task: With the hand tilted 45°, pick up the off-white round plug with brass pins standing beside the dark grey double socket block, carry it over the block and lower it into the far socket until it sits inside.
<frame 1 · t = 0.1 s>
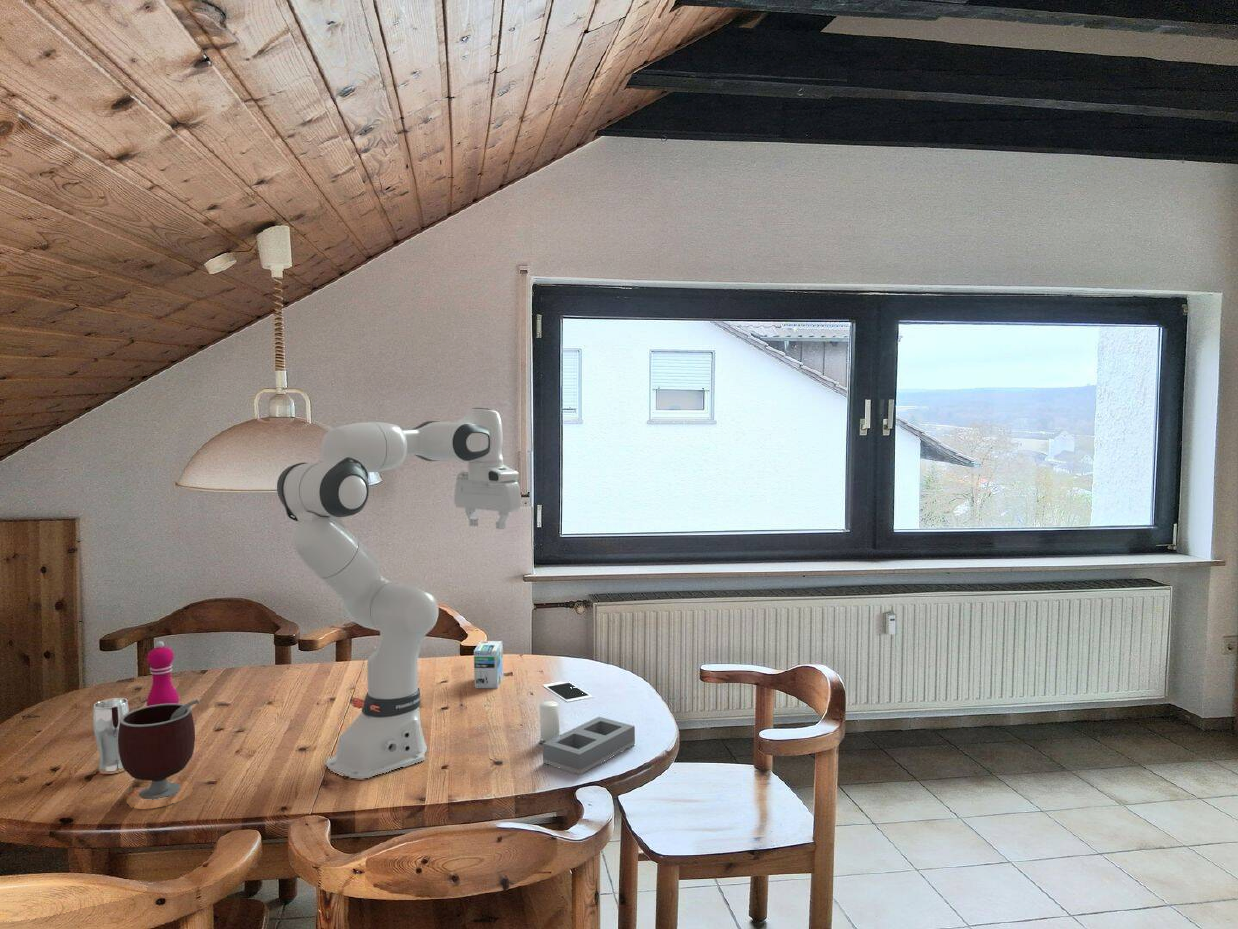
hand: (487, 527, 224), 48 cm above the table, tool pointing down, fingers open, 8 cm apart
beer glass: (114, 770, 195), on the table
mate gourd: (164, 796, 182), on the table
pepper mill: (163, 719, 226), on the table
light bulb box: (489, 683, 252), on the table
cell phone: (567, 693, 244), on the table
plug: (550, 742, 208), on the table
socket block: (590, 754, 201), on the table
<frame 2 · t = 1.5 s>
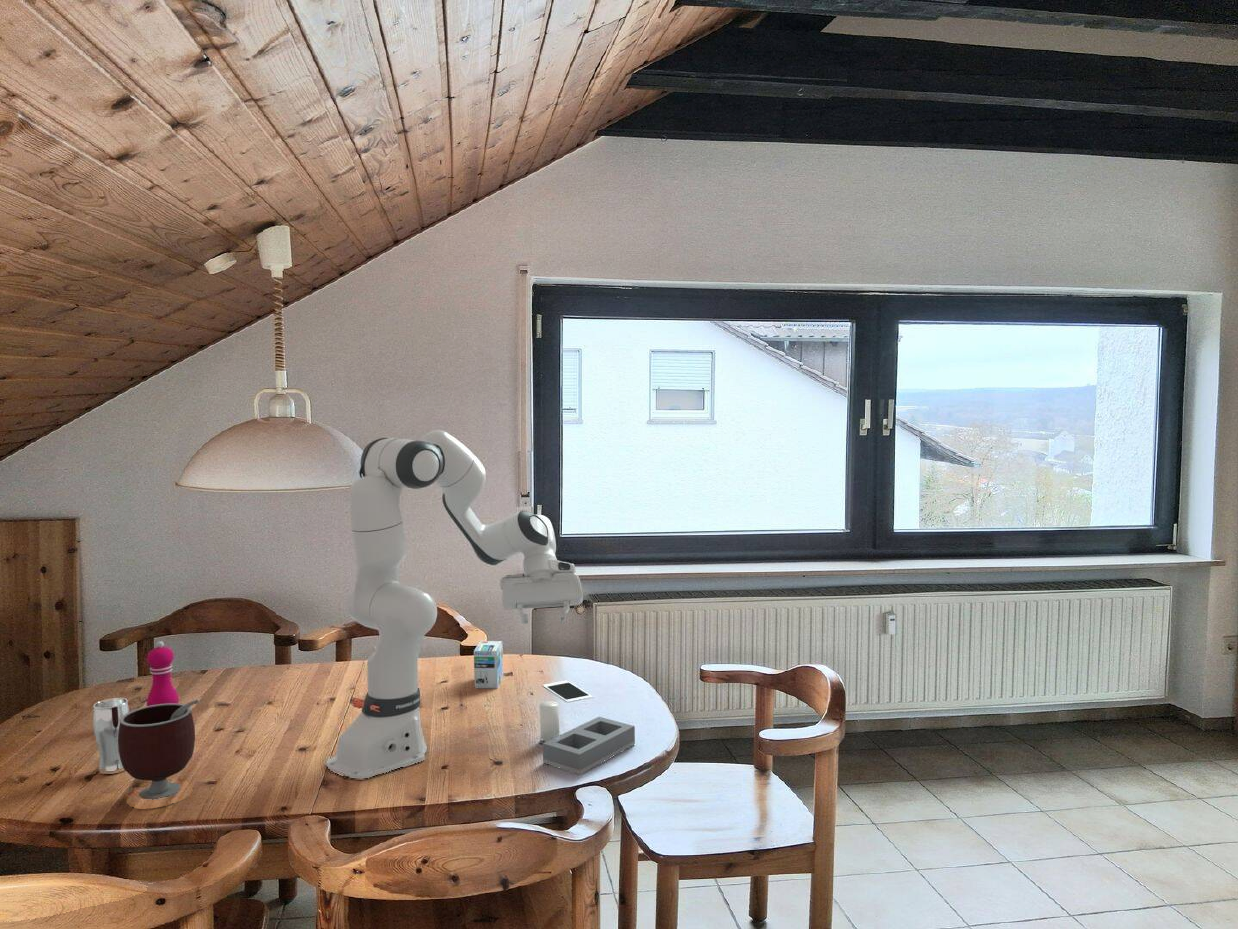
hand: (544, 621, 219), 26 cm above the table, tool tilted 45°, fingers open, 8 cm apart
nothing on the table moved.
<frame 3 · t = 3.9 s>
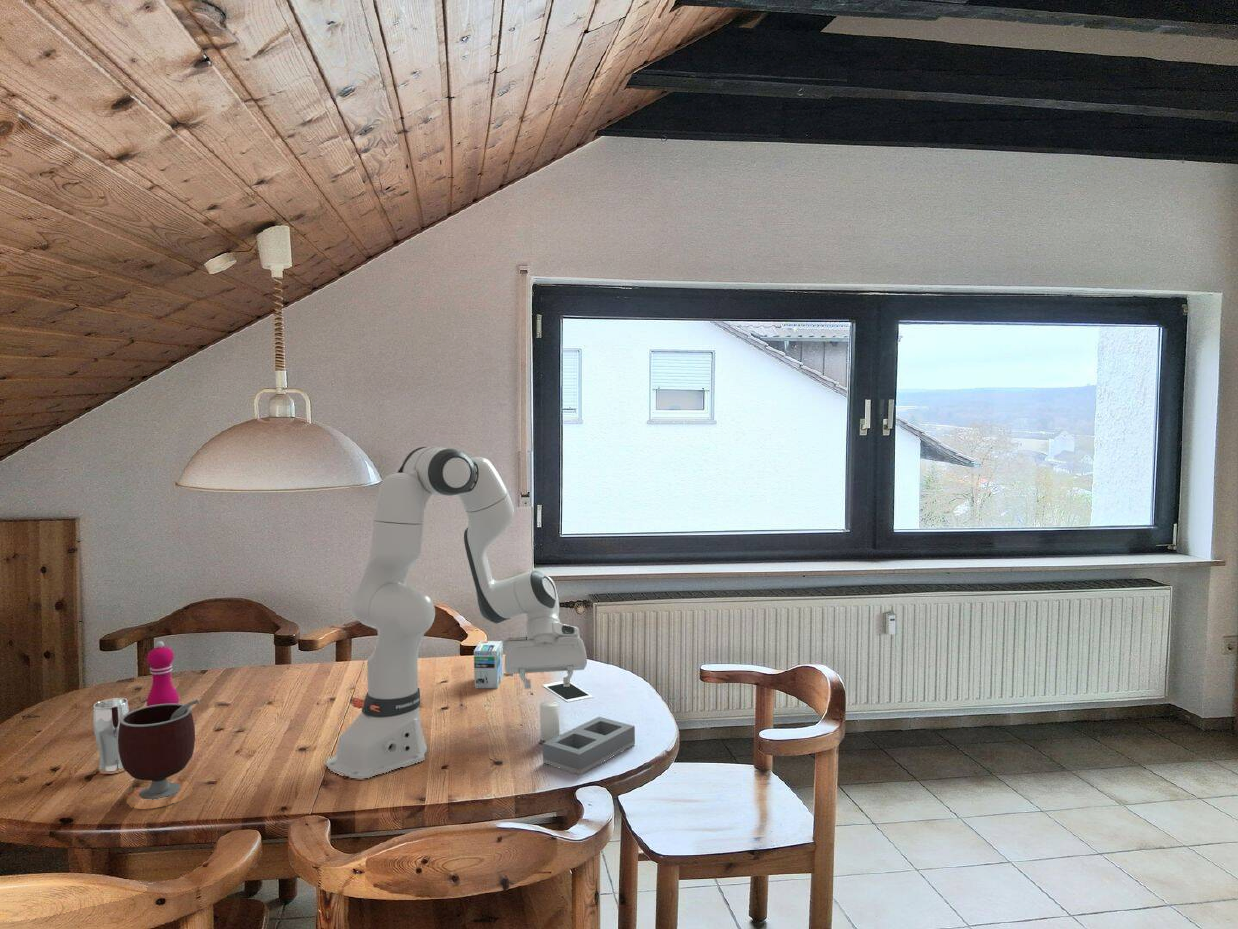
hand: (547, 686, 214), 11 cm above the table, tool tilted 45°, fingers open, 8 cm apart
nothing on the table moved.
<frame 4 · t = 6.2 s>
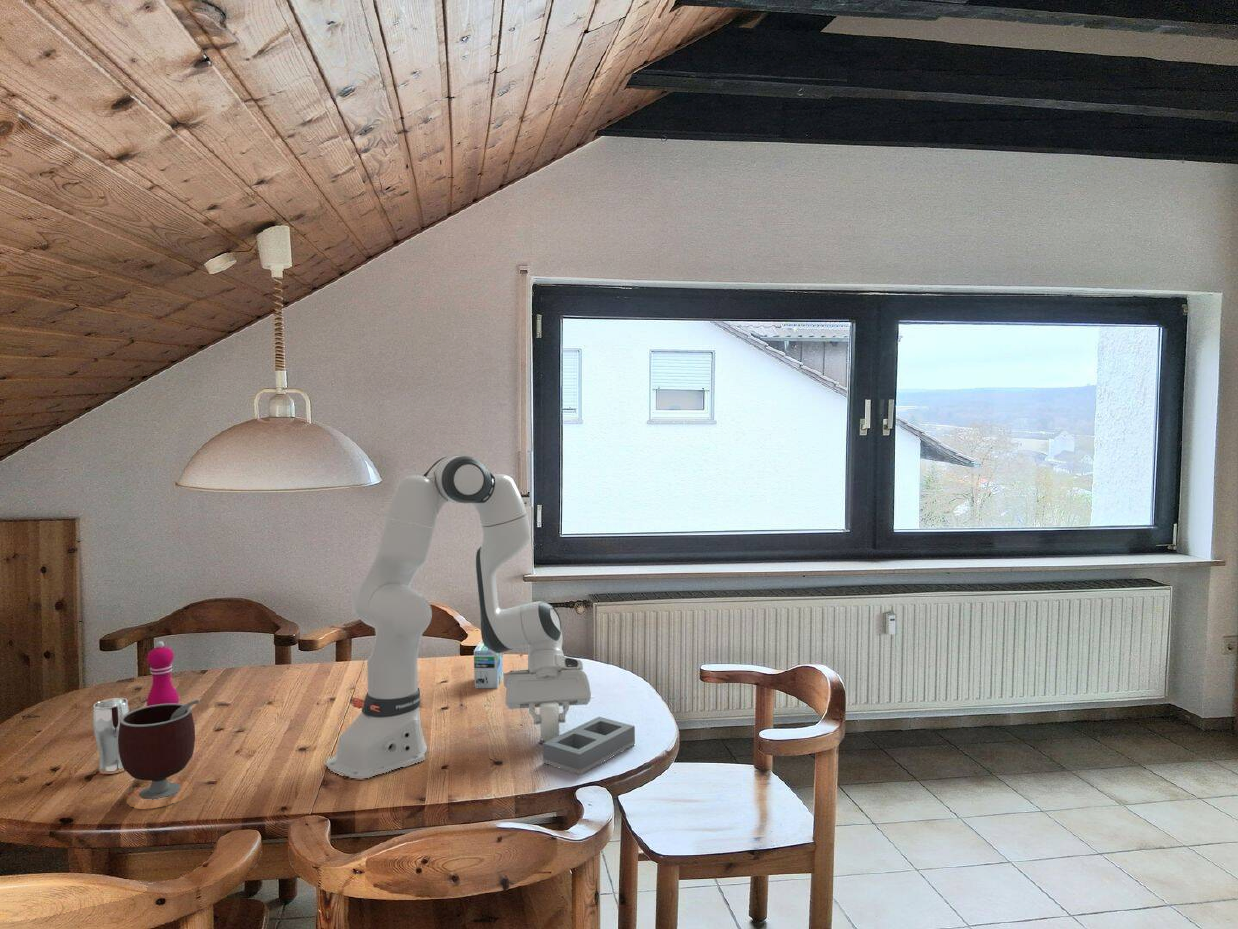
hand: (549, 722, 207), 5 cm above the table, tool tilted 45°, fingers closed on plug, 4 cm apart
plug: (550, 742, 208), on the table, touching gripper
everything else where it was.
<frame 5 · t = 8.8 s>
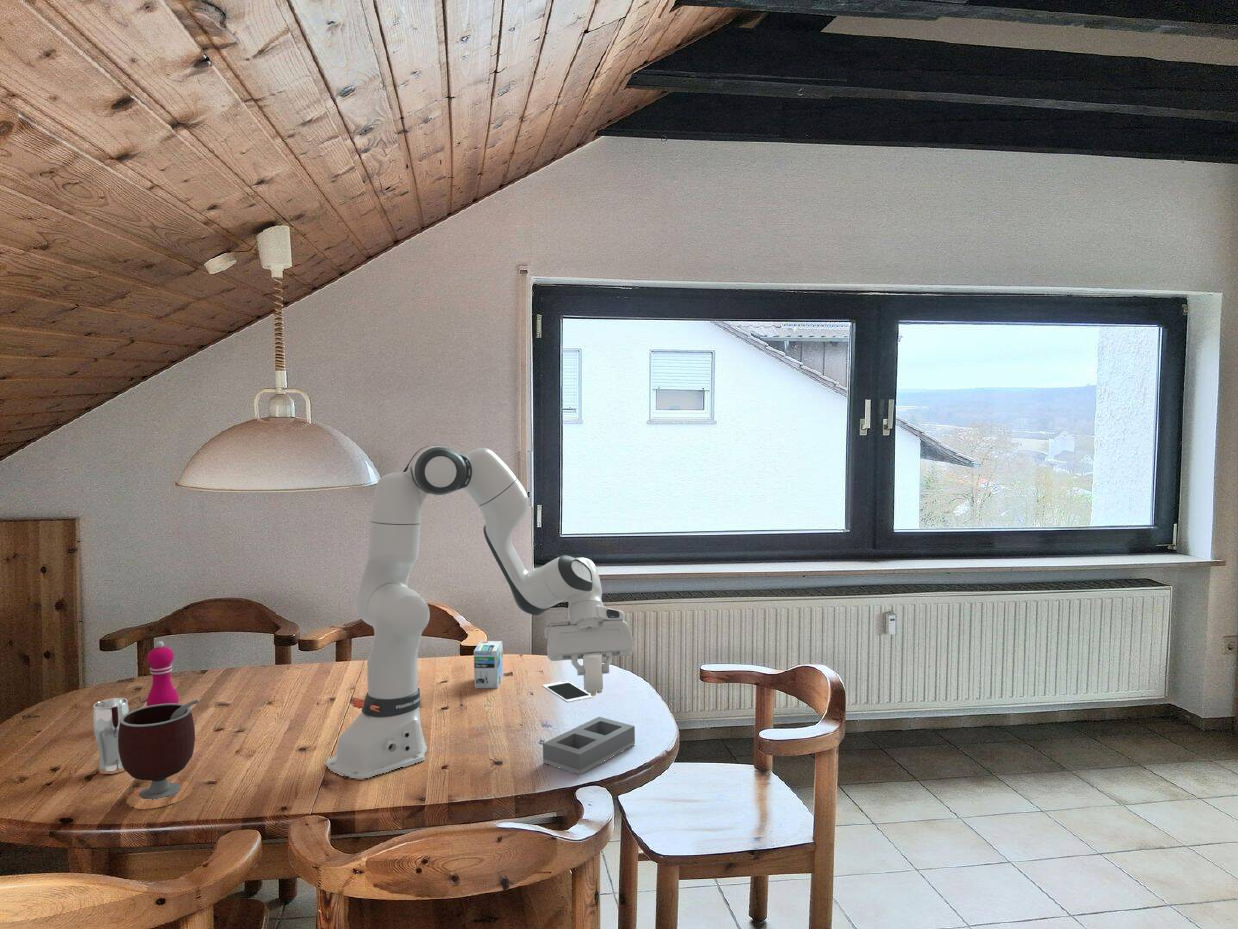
hand: (593, 673, 204), 17 cm above the table, tool tilted 45°, fingers closed on plug, 4 cm apart
plug: (593, 693, 205), point 12 cm above the table, touching gripper
everything else where it was.
when the fingers open (7 cm above the table, at t = 11.7 s): plug stays where it is, resting on socket block.
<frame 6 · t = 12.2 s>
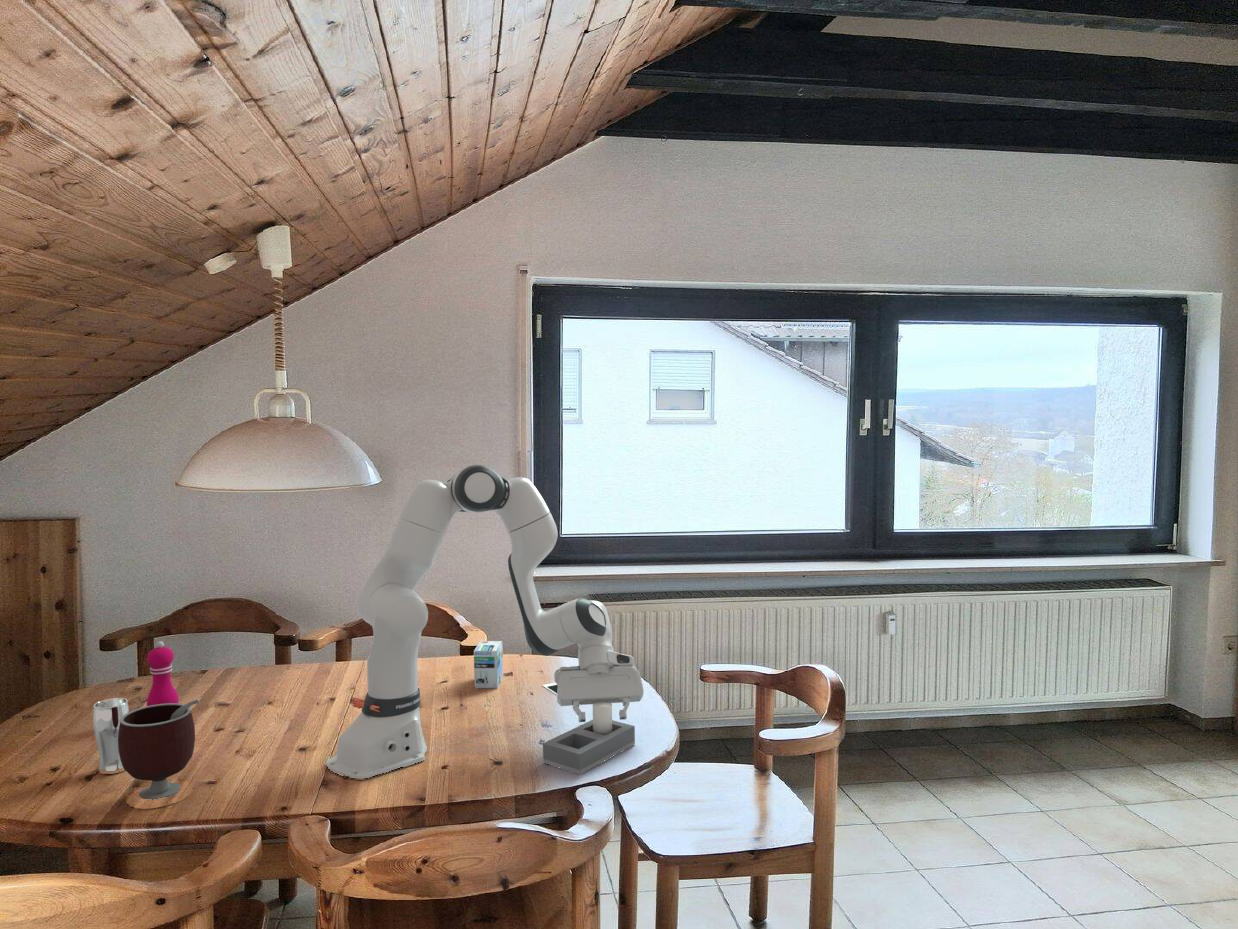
hand: (602, 720, 203), 7 cm above the table, tool tilted 45°, fingers open, 8 cm apart
plug: (602, 743, 204), point 1 cm above the table, touching socket block
everything else where it was.
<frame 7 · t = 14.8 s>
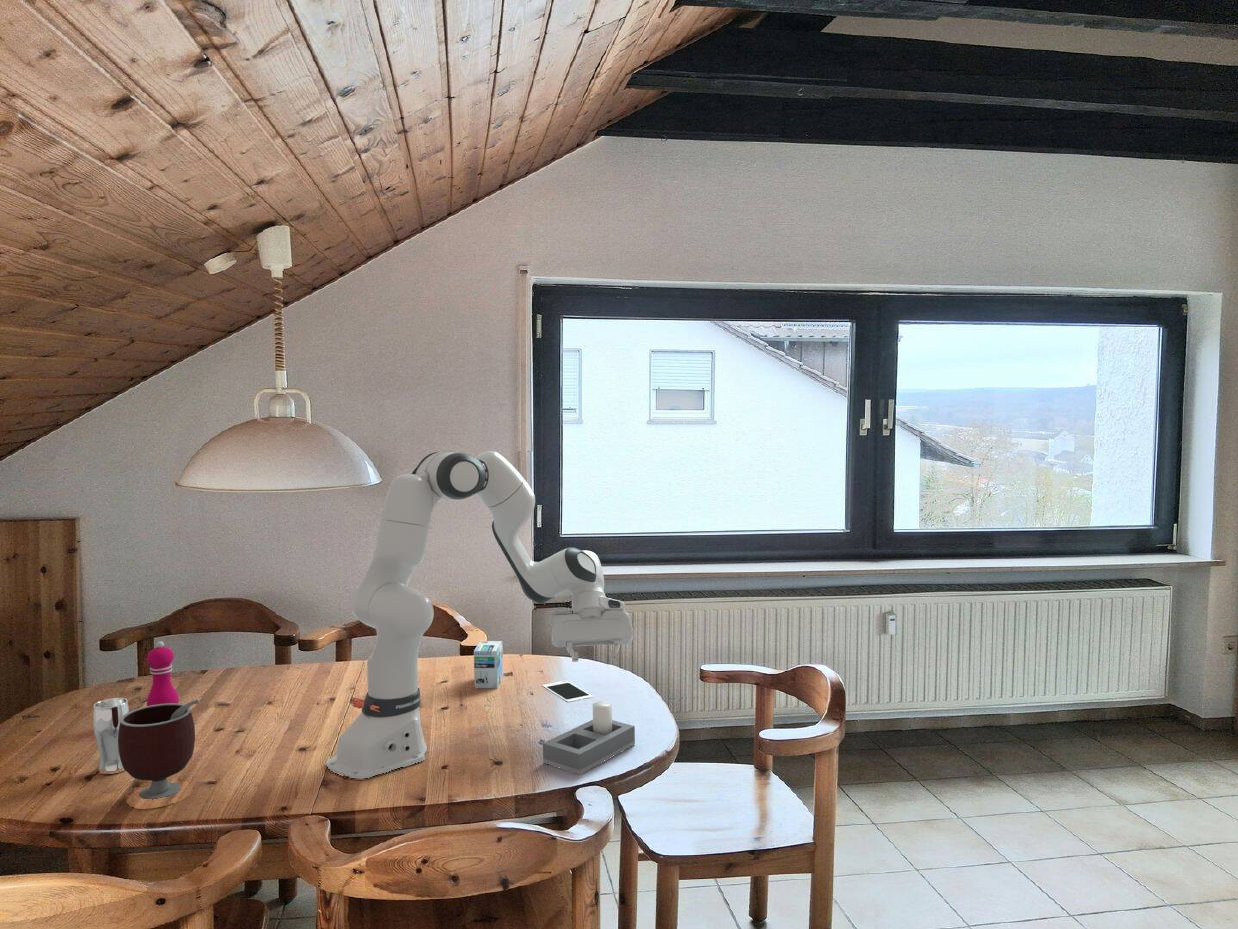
hand: (594, 659, 215), 17 cm above the table, tool tilted 45°, fingers open, 8 cm apart
nothing on the table moved.
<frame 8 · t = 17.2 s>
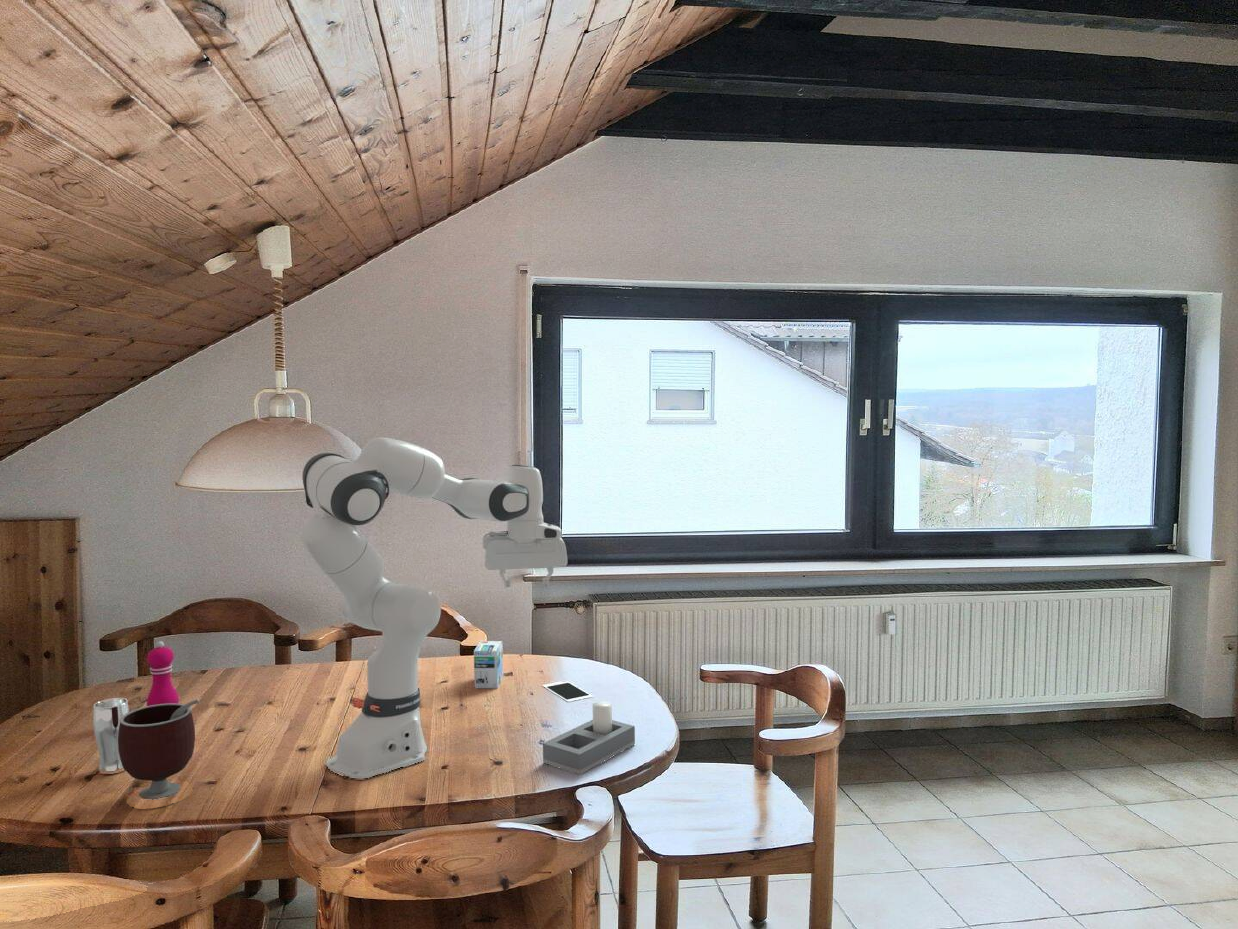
hand: (526, 586, 219), 34 cm above the table, tool pointing down, fingers open, 8 cm apart
nothing on the table moved.
at the end: plug 0.1 cm from the target spot on the socket block, point 1.0 cm above the socket block's base; plug tilted 0°; the gripper is holding nothing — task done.
